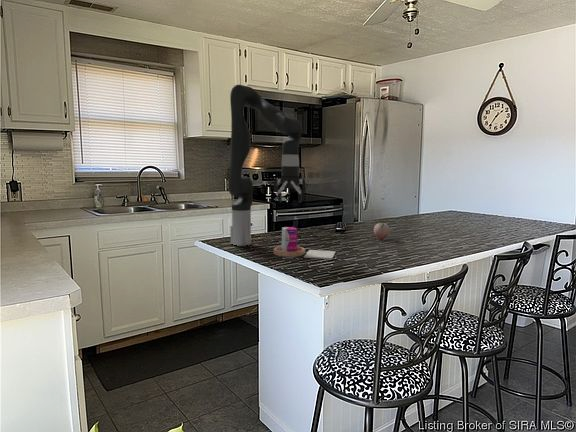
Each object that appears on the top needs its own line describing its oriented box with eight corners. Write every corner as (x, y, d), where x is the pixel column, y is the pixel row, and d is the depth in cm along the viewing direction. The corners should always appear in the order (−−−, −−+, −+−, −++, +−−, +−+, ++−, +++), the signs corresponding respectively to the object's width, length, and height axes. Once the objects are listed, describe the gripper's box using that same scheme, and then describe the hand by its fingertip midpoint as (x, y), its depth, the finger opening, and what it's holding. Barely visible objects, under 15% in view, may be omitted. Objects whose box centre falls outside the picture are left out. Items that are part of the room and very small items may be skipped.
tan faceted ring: (270, 255, 179) (270, 251, 179) (278, 249, 192) (278, 245, 192) (301, 257, 176) (301, 252, 176) (306, 250, 189) (307, 246, 189)
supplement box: (284, 255, 180) (284, 229, 179) (281, 252, 186) (281, 227, 185) (297, 254, 182) (297, 228, 181) (293, 251, 188) (293, 226, 186)
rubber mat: (304, 257, 176) (304, 256, 176) (309, 251, 189) (309, 249, 188) (332, 259, 173) (332, 257, 173) (335, 252, 186) (335, 251, 186)
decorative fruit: (391, 241, 213) (392, 222, 212) (375, 241, 213) (376, 222, 212) (387, 238, 223) (388, 219, 221) (372, 237, 223) (372, 219, 221)
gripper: (272, 165, 177) (272, 202, 179) (304, 165, 174) (304, 203, 176) (276, 165, 184) (276, 201, 186) (307, 165, 181) (307, 202, 183)
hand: (289, 202), depth 181 cm, fingers open, 8 cm apart
